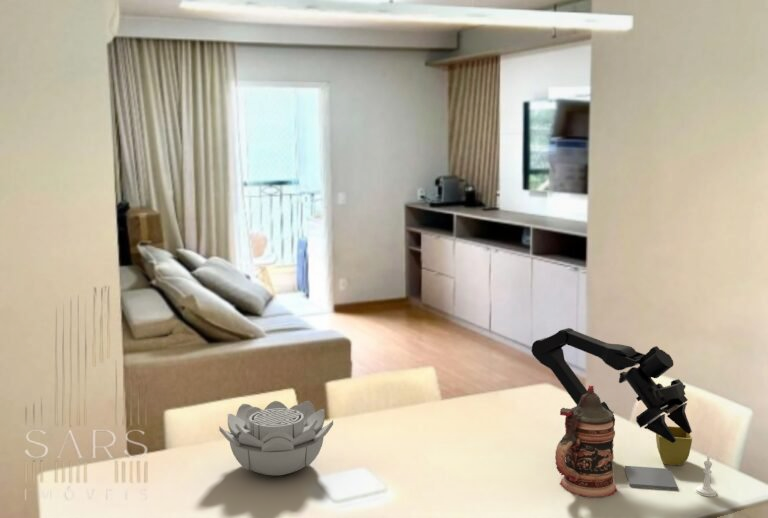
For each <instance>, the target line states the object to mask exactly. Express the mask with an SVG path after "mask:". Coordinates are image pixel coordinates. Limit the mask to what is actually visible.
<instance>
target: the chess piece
mask: <svg viewBox="0 0 768 518" xmlns="http://www.w3.org/2000/svg"><path fill="white" fill-rule="evenodd" d="M706 456H707V457H706V458H707V459H706V461H704V462H703V464H704V468H705V469H703V473H704V478H703V479H704V480H703V484H701V485H699V486H697V487H696V488H695V492H696V493H697V494H699V495H700V496H704V497H715V496H717V490H716V489H715V488H714V487H712V485H711V482H710V481H711V479H710V475H711V474H712V473H713V471H712V470H711V468H712V466H713V462H712V461H710V454H707V455H706Z"/></svg>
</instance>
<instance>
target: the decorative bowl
mask: <svg viewBox="0 0 768 518" xmlns="http://www.w3.org/2000/svg"><path fill="white" fill-rule="evenodd" d="M324 423H325V408H321V409H318V410H317V411H316V408H315V406H314V404H313V403H312V402H311V401H309V400H305V401H301V403H299V404H294V405H293V406H291V407H290V408H288V407H287V406H286V405H285V404H284V403H283V402H281V401H278V400H274V401H272V402H269V404H267V406H266V407H265V408H264V409H261V408H260V407H257V406H252V405H251V404H248V403H242V404H241V405H239V407H238V409H237V410H236V415H235V414H233V413H227V428H228V430H229V431H227V430H225V429H224V428H223V427H221V426H220V425H219V427H218V428H219V431H218V432H220V433H221V435H223V437H224V438H225V440H227V441H228V442H229V447H230V449H231V452H232V455H233V456H234V458H235V459H236V461H237V462H238V464H240V465H241V466H242V467H243V468H244V469H246V470H248V471H249V470H250V471H253V472H256V473H257V474H259V475H260V474H261V475H266V476H283V475H289V474H293V473H296V472H297V471H299V470H301V469H303V468H304V467H309V466H310V465H311V464H312V463H313V462H314V461H315V459H316V458H317V457H318V455H319V454H320V451H321V449H322V447H323V443H324V438H325V436H326V435H327V434H328V433H329V431H330V430H331V429H332V427H333V425H334V419H332V421H330V422H329V423H328V424H327V425H325V426H324Z"/></svg>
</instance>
